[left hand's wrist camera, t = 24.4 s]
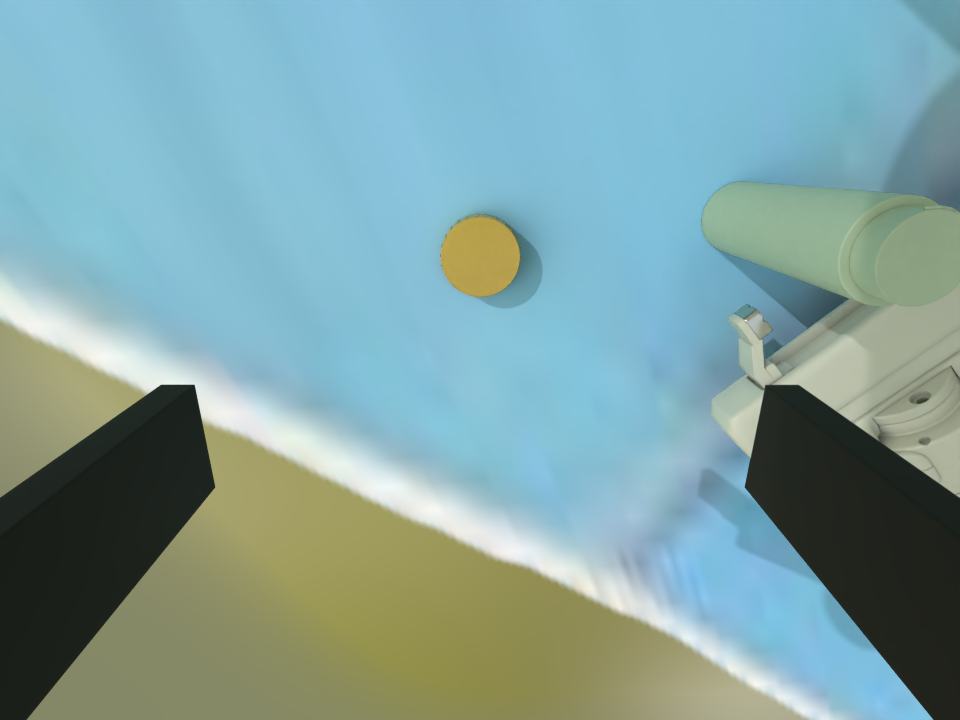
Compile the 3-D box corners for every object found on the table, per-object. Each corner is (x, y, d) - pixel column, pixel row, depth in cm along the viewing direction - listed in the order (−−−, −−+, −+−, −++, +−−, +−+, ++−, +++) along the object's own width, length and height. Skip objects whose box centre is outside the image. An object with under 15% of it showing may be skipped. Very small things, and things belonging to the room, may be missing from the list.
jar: (767, 248, 39) (973, 311, 22) (699, 255, 39) (856, 321, 23) (773, 178, 37) (1002, 191, 21) (703, 184, 37) (875, 203, 21)
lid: (477, 196, 37) (477, 198, 35) (535, 251, 39) (538, 255, 37) (425, 255, 39) (423, 260, 37) (482, 306, 40) (483, 313, 38)
